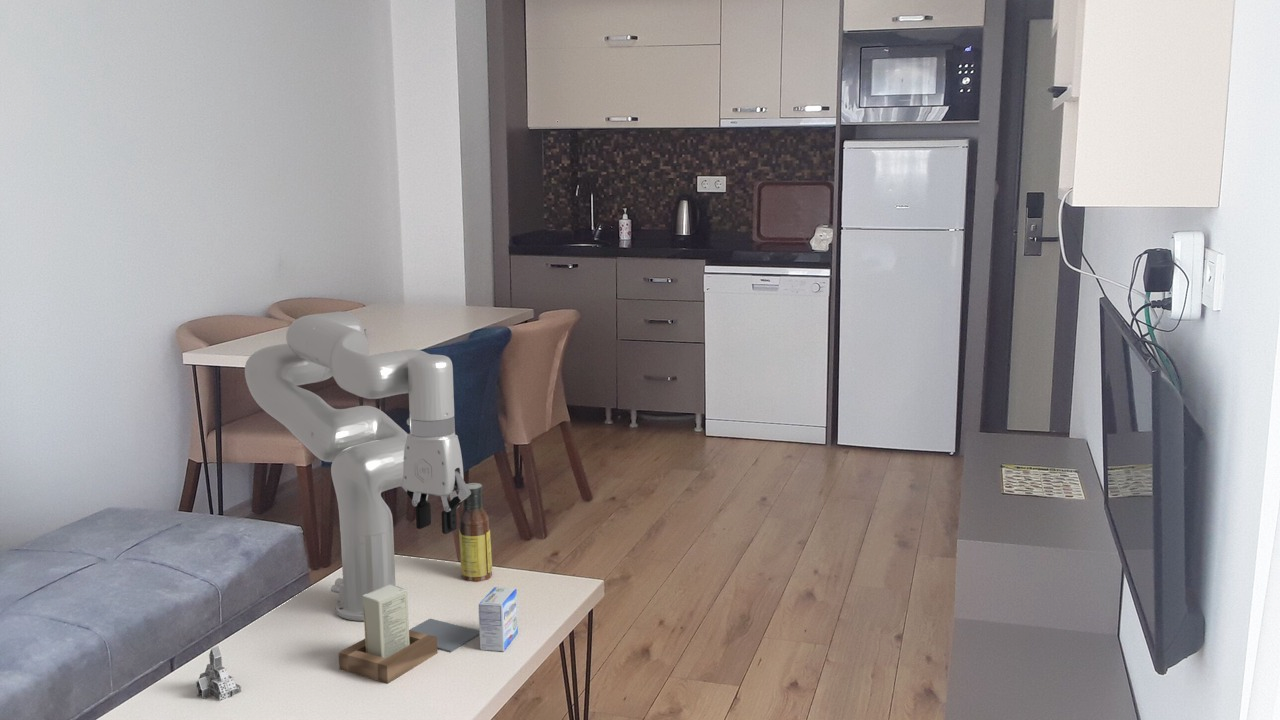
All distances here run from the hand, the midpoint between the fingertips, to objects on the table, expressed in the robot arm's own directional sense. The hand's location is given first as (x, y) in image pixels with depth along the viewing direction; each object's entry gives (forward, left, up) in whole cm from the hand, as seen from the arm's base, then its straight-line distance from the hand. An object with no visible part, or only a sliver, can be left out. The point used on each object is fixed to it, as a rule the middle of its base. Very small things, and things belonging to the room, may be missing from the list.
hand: (436, 528), depth 183 cm
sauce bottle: (-11, +25, -20) cm, 34 cm away
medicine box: (+11, +3, -20) cm, 23 cm away
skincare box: (-2, -12, -20) cm, 23 cm away
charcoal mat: (0, 0, -20) cm, 20 cm away
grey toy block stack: (-19, -35, -21) cm, 45 cm away
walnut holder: (-1, -12, -20) cm, 23 cm away
